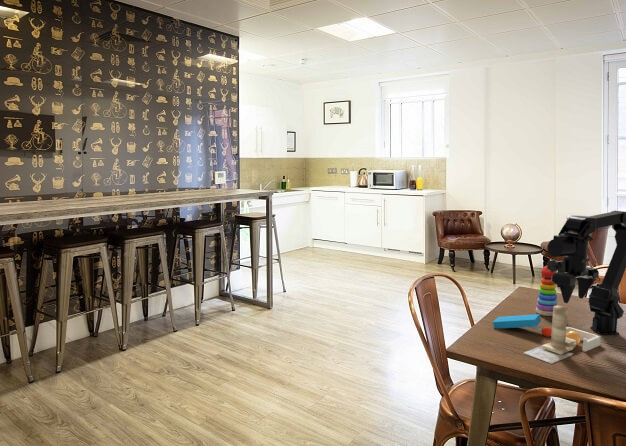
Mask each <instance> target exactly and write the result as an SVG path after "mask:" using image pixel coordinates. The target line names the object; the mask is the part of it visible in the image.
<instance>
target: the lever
mask: <svg viewBox="0 0 626 446" xmlns="http://www.w3.org/2000/svg"><path fill="white" fill-rule="evenodd" d="M541 322H542V319H541V314H538V313H536V314H522V315H508V316H498V317H497V318H496V319H494V320H493V321H492V325H493V328H494V329H513V328H515V329H516V328H530V329H532V330H535V331H539V332H540V333H541V335H542V336H543V337H548V338H549V337H550V338H551V333H552V327H549V326H544V327H539V326H538V325H539V324H540V323H541Z"/></svg>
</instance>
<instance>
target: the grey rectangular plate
mask: <svg viewBox="0 0 626 446" xmlns="http://www.w3.org/2000/svg"><path fill="white" fill-rule="evenodd" d="M523 354H524V355H526V356H530V357H532V358H534V359H537V360H540V361H542V362H545V363H548V364H551V365H552V364H555V363H557V362H560V361H562V360H564V359H566V358H569V357H571V356H573V355H574V353H573V352H570V351H568V352H566V353H563V354H558V353H555V352H552V351H549V350H547V349H544V348H542V345H540V346H537V347H534V348H532V349H530V350H526V351H524V352H523Z"/></svg>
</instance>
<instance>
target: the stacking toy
mask: <svg viewBox="0 0 626 446" xmlns="http://www.w3.org/2000/svg"><path fill="white" fill-rule="evenodd" d="M554 273H557V271H554V272H550V270H549V269H548V268H547V265H545V266H544V267H542V268H541V276H542V278H541V279H540V281H541V283H540V284H539V289H538V292H539V293H538V295H537V296H538V297H537V300H536V301H537V303H535V305H536V307H535V313H536V314H540V316H544V317H545V316H546V317H553V306H558V300H557V299H558V295H557V290H556V287H557V284H554V282H552V281H551V277H552V275H553V274H554Z"/></svg>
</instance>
